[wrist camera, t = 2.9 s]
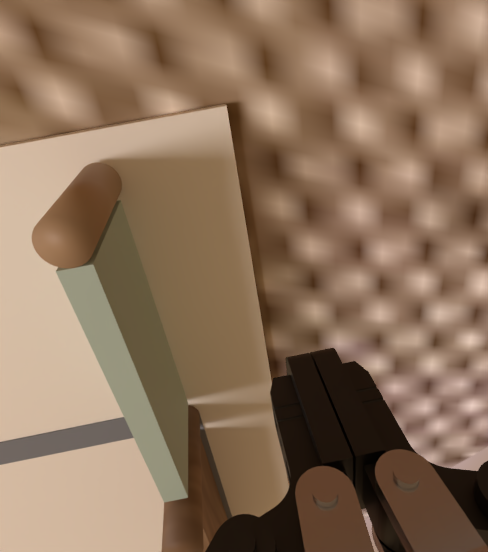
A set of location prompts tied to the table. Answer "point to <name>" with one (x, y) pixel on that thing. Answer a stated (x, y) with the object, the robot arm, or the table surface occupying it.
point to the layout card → (176, 323)
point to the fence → (194, 501)
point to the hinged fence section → (119, 318)
